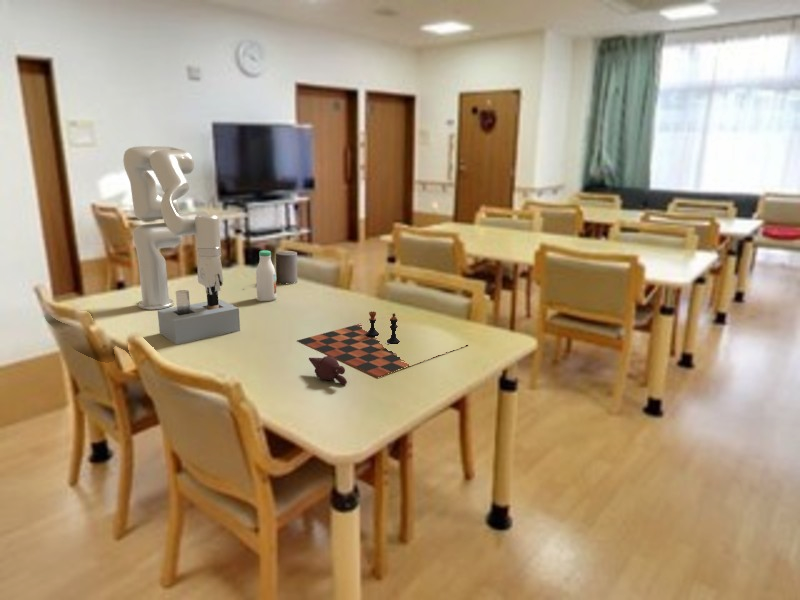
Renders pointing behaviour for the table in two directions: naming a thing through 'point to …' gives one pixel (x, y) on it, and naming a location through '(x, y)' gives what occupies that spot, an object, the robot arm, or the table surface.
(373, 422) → the table surface
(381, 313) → the table surface
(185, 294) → the steel peg
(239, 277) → the table surface
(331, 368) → the brown knobby figurine
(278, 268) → the pillar candle
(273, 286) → the milk bottle
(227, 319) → the socket board
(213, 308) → the brown rounded cylinder
